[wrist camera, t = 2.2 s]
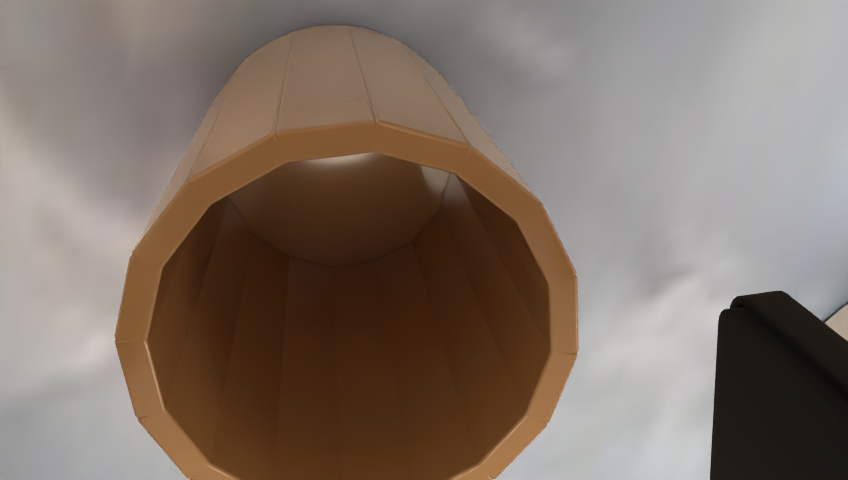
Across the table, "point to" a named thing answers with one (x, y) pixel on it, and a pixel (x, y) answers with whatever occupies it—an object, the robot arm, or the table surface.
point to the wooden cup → (345, 279)
